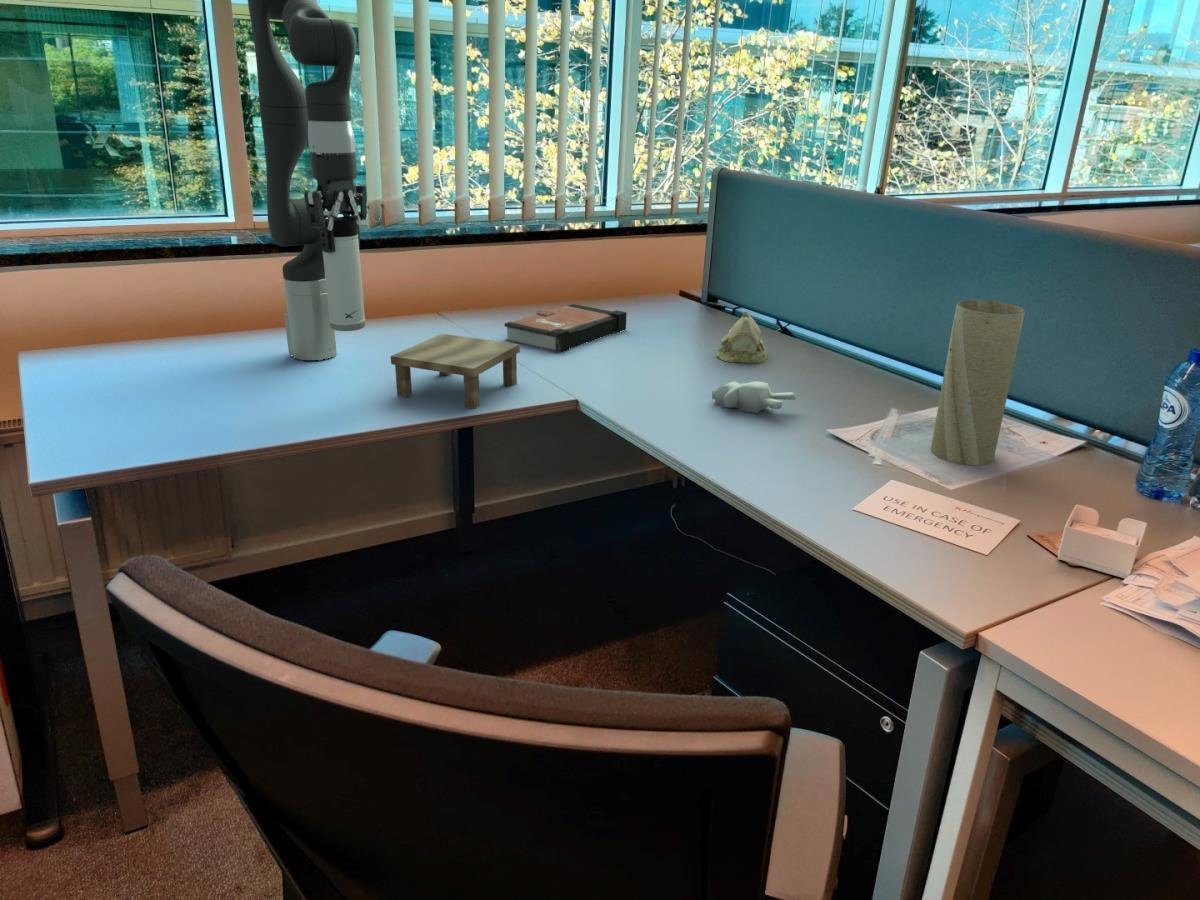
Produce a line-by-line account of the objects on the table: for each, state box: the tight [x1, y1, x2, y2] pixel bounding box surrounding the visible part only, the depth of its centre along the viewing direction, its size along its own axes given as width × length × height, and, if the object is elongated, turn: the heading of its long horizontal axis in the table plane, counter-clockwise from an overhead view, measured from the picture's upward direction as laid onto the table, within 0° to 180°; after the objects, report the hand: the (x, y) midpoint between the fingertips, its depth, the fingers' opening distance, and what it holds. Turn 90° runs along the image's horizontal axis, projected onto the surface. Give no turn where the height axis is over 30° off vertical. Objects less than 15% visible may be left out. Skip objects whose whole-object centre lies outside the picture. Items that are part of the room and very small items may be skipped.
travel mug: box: [323, 215, 366, 332], centre depth 155 cm, size 6×7×20 cm
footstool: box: [390, 333, 521, 410], centre depth 170 cm, size 18×18×8 cm
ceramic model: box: [716, 311, 768, 364], centre depth 196 cm, size 14×11×10 cm
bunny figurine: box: [711, 381, 797, 414], centre depth 164 cm, size 10×5×15 cm
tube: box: [930, 299, 1026, 466], centre depth 141 cm, size 10×10×25 cm
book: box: [504, 303, 628, 354], centre depth 210 cm, size 26×18×5 cm
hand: (341, 248), depth 154 cm, fingers closed on travel mug, 6 cm apart
